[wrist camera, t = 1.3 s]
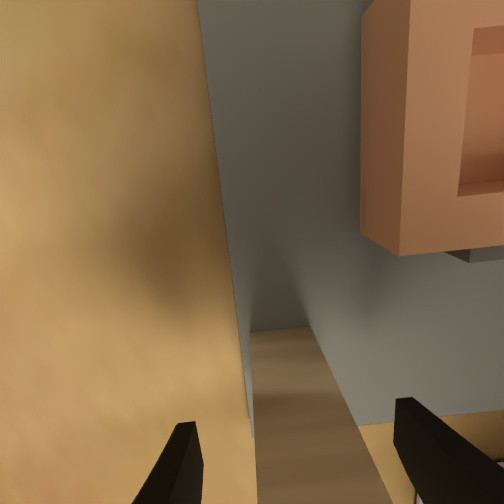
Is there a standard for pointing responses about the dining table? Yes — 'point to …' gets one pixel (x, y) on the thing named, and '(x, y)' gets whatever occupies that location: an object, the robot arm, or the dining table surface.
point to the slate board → (334, 220)
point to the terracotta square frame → (433, 127)
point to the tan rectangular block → (305, 427)
